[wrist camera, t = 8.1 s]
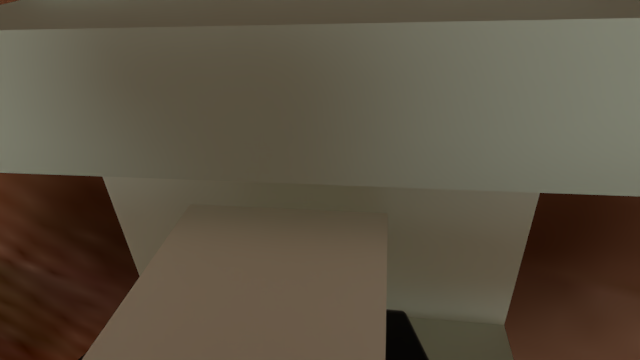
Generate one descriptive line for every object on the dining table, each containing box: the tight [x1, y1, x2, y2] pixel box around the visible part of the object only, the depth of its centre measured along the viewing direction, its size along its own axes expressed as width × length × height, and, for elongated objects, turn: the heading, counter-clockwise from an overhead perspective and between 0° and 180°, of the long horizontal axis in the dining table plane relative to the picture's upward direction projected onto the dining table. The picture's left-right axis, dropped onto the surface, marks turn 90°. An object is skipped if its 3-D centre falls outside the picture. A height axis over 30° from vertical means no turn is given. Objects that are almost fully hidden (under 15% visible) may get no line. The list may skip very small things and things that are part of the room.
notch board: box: [0, 0, 640, 360], centre depth 10 cm, size 11×13×4 cm
